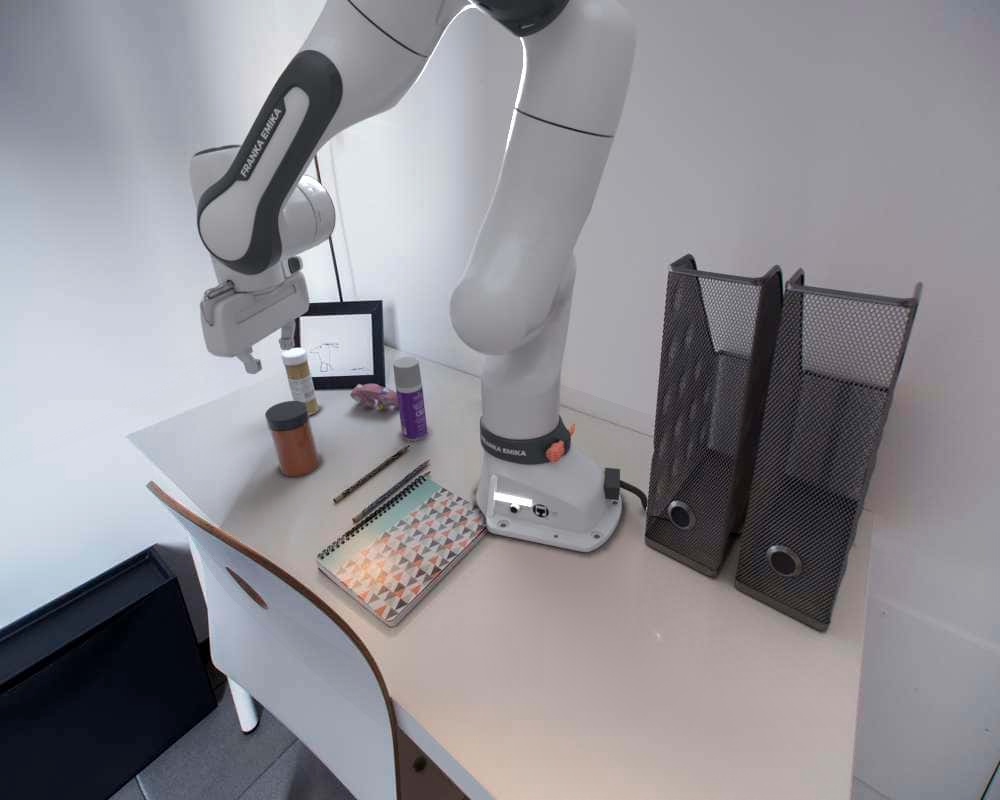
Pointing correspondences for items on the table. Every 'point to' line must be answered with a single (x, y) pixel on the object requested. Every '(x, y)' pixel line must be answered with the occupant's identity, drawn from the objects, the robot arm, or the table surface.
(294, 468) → the jar
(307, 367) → the sprinkles bottle
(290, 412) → the lid
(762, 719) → the table surface
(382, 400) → the pink toy animal
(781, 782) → the table surface
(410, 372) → the container
